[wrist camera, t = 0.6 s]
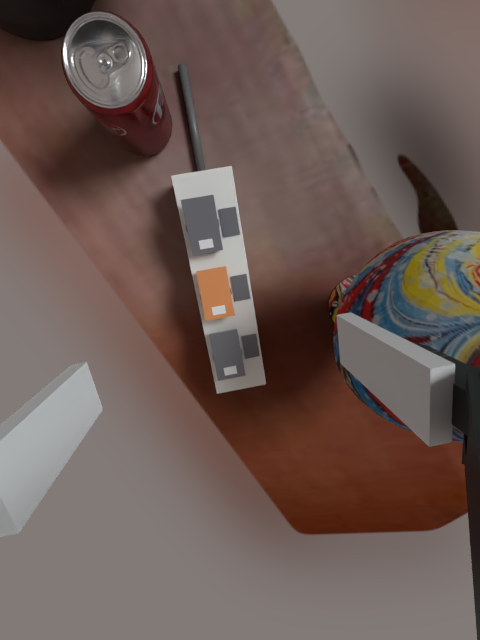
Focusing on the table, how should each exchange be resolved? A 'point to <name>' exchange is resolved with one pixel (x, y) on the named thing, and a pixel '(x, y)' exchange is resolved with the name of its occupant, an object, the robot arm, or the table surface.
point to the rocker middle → (215, 293)
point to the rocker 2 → (227, 354)
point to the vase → (417, 301)
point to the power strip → (221, 254)
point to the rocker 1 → (202, 224)
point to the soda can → (117, 81)
